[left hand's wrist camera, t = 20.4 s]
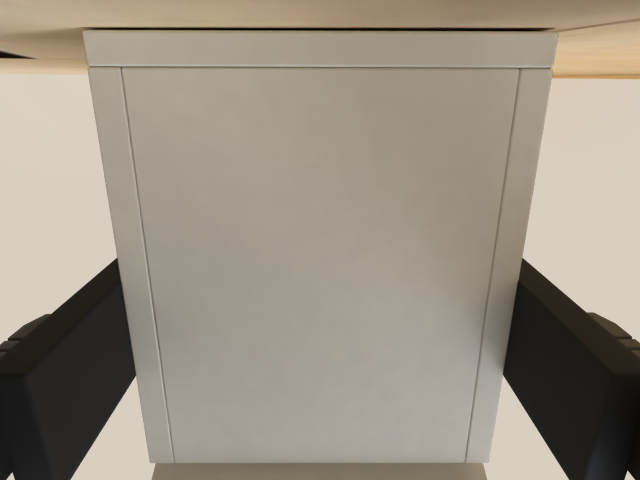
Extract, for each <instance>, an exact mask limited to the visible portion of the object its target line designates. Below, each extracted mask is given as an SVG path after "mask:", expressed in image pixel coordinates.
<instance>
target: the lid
mask: <svg viewBox="0 0 640 480" xmlns="http://www.w3.org/2000/svg"><path fill="white" fill-rule="evenodd" d="M152 480H487V478H486V474H485V470H484V465H483V463H466V462H465V461H464V463H175V462H174V463H156V464H155V468H154V472H153V476H152Z"/></svg>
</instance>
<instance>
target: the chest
mask: <svg viewBox="0 0 640 480" xmlns="http://www.w3.org/2000/svg"><path fill="white" fill-rule="evenodd" d="M82 35H83V41H84V47H85V54H86V60H87V64H88V66H90V67H89V68H88V75H89V81H90V87H91V94H92V100H93V107H94V113H95V119H96V125H97V132H98V138H99V144H100V151H101V157H102V163H103V170H104V176H105V182H106V189H107V195H108V201H109V207H110V214H111V220H112V226H113V233H114V239H115V245H116V252H117V258H118V264H119V271H120V277H121V283H122V290H123V296H124V302H125V308H126V315H127V321H128V327H129V334H130V340H131V346H132V352H133V359H134V365H135V371H136V378H137V384H138V390H139V396H140V403H141V409H142V416H143V422H144V428H145V435H146V441H147V447H148V454H149V460H150V463H174V462H175V463H464V461H465V462H466V463H488V462H489V457H490V451H491V445H492V439H493V433H494V426H495V420H496V414H497V408H498V402H499V396H500V390H501V384H502V378H503V370H504V364H505V357H506V351H507V345H508V339H509V333H510V326H511V320H512V314H513V308H514V302H515V295H516V289H517V283H518V280H519V274H520V268H521V262H522V256H523V250H524V244H525V238H526V231H527V225H528V219H529V213H530V207H531V201H532V195H533V189H534V183H535V177H536V170H537V164H538V158H539V152H540V146H541V140H542V134H543V128H544V122H545V116H546V110H547V103H548V97H549V91H550V85H551V79H552V73H553V70H552V69H550V68H552V67H553V65H554V60H555V53H556V47H557V41H558V32H550V31H272V30H84V31H83V32H82Z"/></svg>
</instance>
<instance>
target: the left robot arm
mask: <svg viewBox="0 0 640 480" xmlns="http://www.w3.org/2000/svg"><path fill="white" fill-rule="evenodd" d="M135 376H136V371H135V365H134V359H133V352H132V346H131V340H130V334H129V327H128V321H127V315H126V308H125V302H124V296H123V290H122V283H121V277H120V271H119V264H118V258H116V259H115V260H114V261H113V262H112V263H110V264H109V265H108V266H107V267H106V268H105V269H103V270H102V271H101V272H100V273H99V274H98V275H96V276H95V277H94V278H93V279H92V280H91V281H89V282H88V283H87V284H86V285H85V286H83V287H82V288H81V289H80V290H79V291H78V292H76V293H75V294H74V295H73V296H72V297H71V298H70V299H68V300H67V301H66V302H65V303H64V304H62V305H61V306H60V307H59V308H58V309H57V310H55V311H54V312H53V313H52V314H45V315H43V316H41V317H39V318H37V319H35V320H33V321H31V322H29V323H27V324H26V325H24V326H22V327H21V328H20V329H19V330H18V331H16V332H15V333H14V334H13V335H11V336H10V337H9V338H8V341H4V342H3V343H2V344H0V480H6V479H7V478H8V477H9V476H10V474H11V473H12V472H13V475H14V478H15V480H70V479H71V478H72V476H73V475H74V473H75V471H76V470H77V468H78V467H79V465H80V463H81V462H82V460H83V459H84V457H85V456H86V454H87V452H88V451H89V449H90V448H91V446H92V444H93V443H94V441H95V440H96V438H97V437H98V435H99V433H100V432H101V430H102V429H103V427H104V425H105V424H106V422H107V421H108V419H109V417H110V416H111V414H112V413H113V411H114V410H115V408H116V406H117V405H118V403H119V402H120V400H121V398H122V397H123V395H124V394H125V392H126V391H127V389H128V387H129V386H130V384H131V383H132V381H133V379H134V378H135ZM503 376H504V377H505V379H506V380H507V382H508V383H509V385H510V386H511V388H512V390H513V391H514V393H515V394H516V396H517V398H518V399H519V401H520V402H521V404H522V406H523V407H524V409H525V410H526V412H527V413H528V415H529V417H530V418H531V420H532V422H533V423H534V425H535V426H536V428H537V429H538V431H539V433H540V434H541V436H542V437H543V439H544V441H545V442H546V444H547V445H548V447H549V448H550V450H551V452H552V453H553V455H554V456H555V458H556V460H557V461H558V463H559V464H560V466H561V467H562V469H563V471H564V472H565V474H566V475H567V477H568V478H569V480H624V479H625V476H626V473H627V470H628V471H629V473H630V474H631V475H632V476H633V478H634V479H635V480H640V343H639V342H638V341H637V340H635V339H632V336H630V335H629V334H628V333H627V332H625V331H624V330H623V329H622V328H621V327H619V326H618V325H617V324H615V323H613V322H611V321H609V320H607V319H605V318H603V317H601V316H599V315H597V314H595V313H586V312H585V311H584V310H583V309H582V308H580V307H579V306H578V305H577V304H576V303H575V302H573V301H572V300H571V299H570V298H569V297H568V296H566V295H565V294H564V293H563V292H562V291H561V290H559V289H558V288H557V287H556V286H555V285H553V284H552V283H551V282H550V281H549V280H548V279H547V278H545V277H544V276H543V275H542V274H541V273H539V272H538V271H537V270H536V269H535V268H534V267H533V266H531V265H530V264H529V263H528V262H527V261H526V260H524V259H523V258H522V262H521V268H520V274H519V280H518V283H517V289H516V295H515V302H514V308H513V314H512V320H511V326H510V333H509V339H508V345H507V351H506V357H505V364H504V370H503Z"/></svg>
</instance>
